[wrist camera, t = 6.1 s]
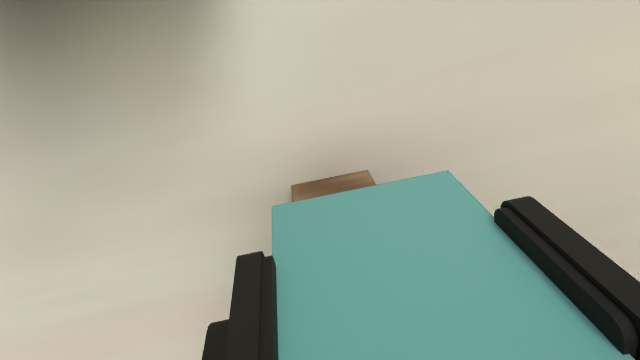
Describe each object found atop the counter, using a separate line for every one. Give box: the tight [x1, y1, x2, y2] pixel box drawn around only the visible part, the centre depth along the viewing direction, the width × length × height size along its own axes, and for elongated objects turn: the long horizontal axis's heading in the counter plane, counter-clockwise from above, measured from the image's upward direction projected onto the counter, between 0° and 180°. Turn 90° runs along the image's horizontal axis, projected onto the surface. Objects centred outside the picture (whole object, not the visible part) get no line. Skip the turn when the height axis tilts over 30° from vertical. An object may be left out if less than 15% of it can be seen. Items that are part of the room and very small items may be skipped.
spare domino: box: [272, 171, 635, 360], centre depth 8 cm, size 5×2×10 cm, turn 100°
